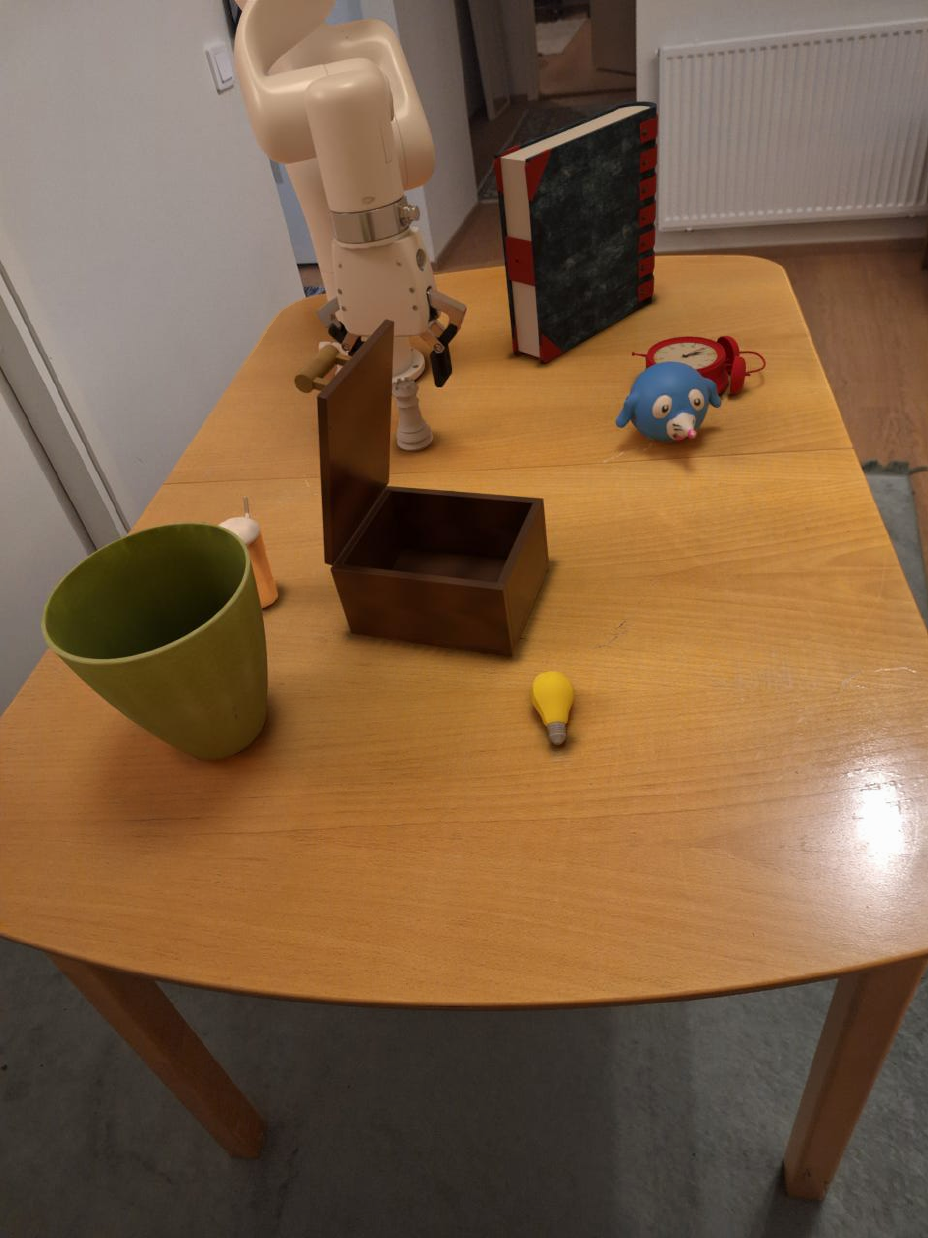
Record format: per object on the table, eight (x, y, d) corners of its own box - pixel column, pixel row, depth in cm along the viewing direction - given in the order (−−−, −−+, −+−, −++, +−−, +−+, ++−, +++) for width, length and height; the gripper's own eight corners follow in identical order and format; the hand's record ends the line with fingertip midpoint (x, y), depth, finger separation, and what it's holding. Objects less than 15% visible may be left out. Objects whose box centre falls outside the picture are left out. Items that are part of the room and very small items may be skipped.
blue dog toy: (636, 483, 85) (637, 411, 80) (604, 428, 94) (603, 360, 88) (746, 460, 86) (754, 387, 80) (704, 407, 94) (709, 339, 89)
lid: (394, 320, 65) (342, 307, 66) (326, 398, 57) (267, 381, 57) (389, 482, 77) (345, 469, 78) (332, 566, 69) (283, 550, 69)
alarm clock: (626, 343, 101) (749, 302, 97) (637, 386, 105) (756, 349, 101) (635, 382, 94) (769, 340, 89) (647, 427, 98) (776, 389, 93)
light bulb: (563, 683, 66) (576, 663, 63) (572, 752, 63) (586, 734, 60) (523, 682, 66) (534, 662, 63) (530, 751, 62) (543, 733, 60)
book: (627, 288, 122) (627, 98, 106) (664, 297, 118) (670, 101, 101) (510, 354, 112) (489, 154, 95) (546, 366, 107) (531, 159, 91)
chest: (549, 564, 78) (543, 498, 72) (512, 657, 69) (502, 589, 64) (401, 548, 83) (386, 485, 77) (350, 633, 74) (329, 568, 69)
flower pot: (274, 809, 61) (198, 665, 50) (102, 796, 64) (-4, 658, 54) (331, 665, 72) (278, 520, 61) (180, 660, 75) (105, 522, 64)
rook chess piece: (440, 435, 98) (429, 374, 93) (423, 454, 95) (411, 393, 90) (408, 431, 100) (395, 371, 95) (391, 450, 97) (377, 389, 92)
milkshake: (296, 580, 81) (266, 499, 74) (271, 616, 78) (237, 534, 71) (258, 575, 83) (225, 495, 76) (231, 610, 79) (194, 529, 72)
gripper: (464, 204, 80) (485, 367, 91) (312, 213, 86) (350, 365, 97) (437, 230, 75) (464, 398, 86) (278, 237, 81) (322, 395, 92)
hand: (403, 380), depth 92 cm, fingers open, 9 cm apart
